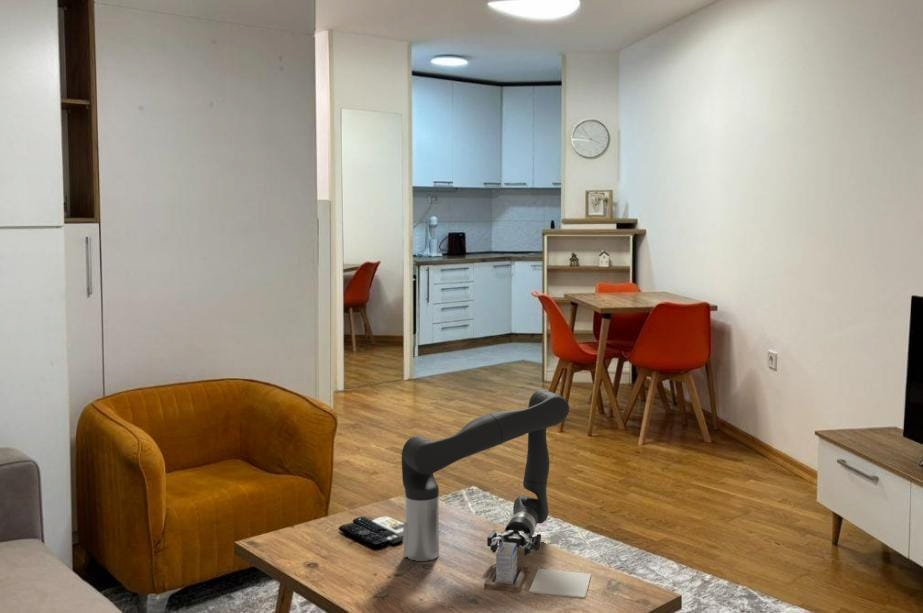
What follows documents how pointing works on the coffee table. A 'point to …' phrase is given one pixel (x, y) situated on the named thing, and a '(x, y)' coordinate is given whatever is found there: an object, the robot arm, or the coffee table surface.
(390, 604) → the coffee table surface
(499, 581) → the medicine box
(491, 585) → the box holder
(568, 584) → the grey mat
